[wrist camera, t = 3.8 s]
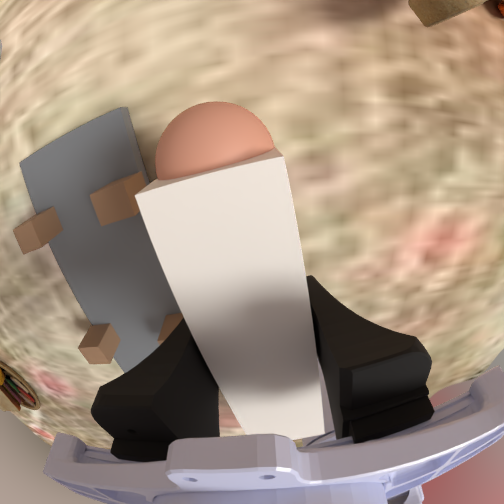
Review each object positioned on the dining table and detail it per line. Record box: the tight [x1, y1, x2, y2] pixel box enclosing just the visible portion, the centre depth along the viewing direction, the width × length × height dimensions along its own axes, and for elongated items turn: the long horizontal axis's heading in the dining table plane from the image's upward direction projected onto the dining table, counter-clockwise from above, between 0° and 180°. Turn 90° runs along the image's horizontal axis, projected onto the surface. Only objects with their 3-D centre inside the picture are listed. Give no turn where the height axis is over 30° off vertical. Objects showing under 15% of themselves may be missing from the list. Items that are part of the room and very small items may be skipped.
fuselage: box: [135, 102, 325, 440], centre depth 12 cm, size 16×4×5 cm, turn 13°
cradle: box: [13, 107, 184, 373], centre depth 19 cm, size 22×10×4 cm, turn 13°
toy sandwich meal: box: [0, 361, 40, 411], centre depth 29 cm, size 12×14×5 cm
